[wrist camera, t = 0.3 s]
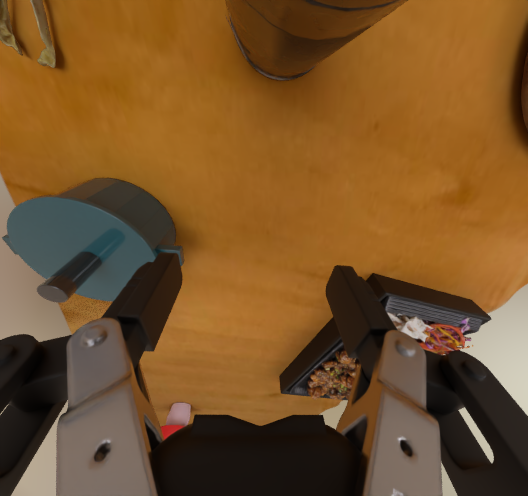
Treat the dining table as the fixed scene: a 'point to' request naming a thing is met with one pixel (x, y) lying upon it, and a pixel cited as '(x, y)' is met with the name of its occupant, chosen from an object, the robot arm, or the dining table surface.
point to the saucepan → (129, 210)
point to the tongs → (3, 29)
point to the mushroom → (176, 418)
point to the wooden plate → (525, 93)
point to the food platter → (404, 318)
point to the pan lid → (77, 247)
